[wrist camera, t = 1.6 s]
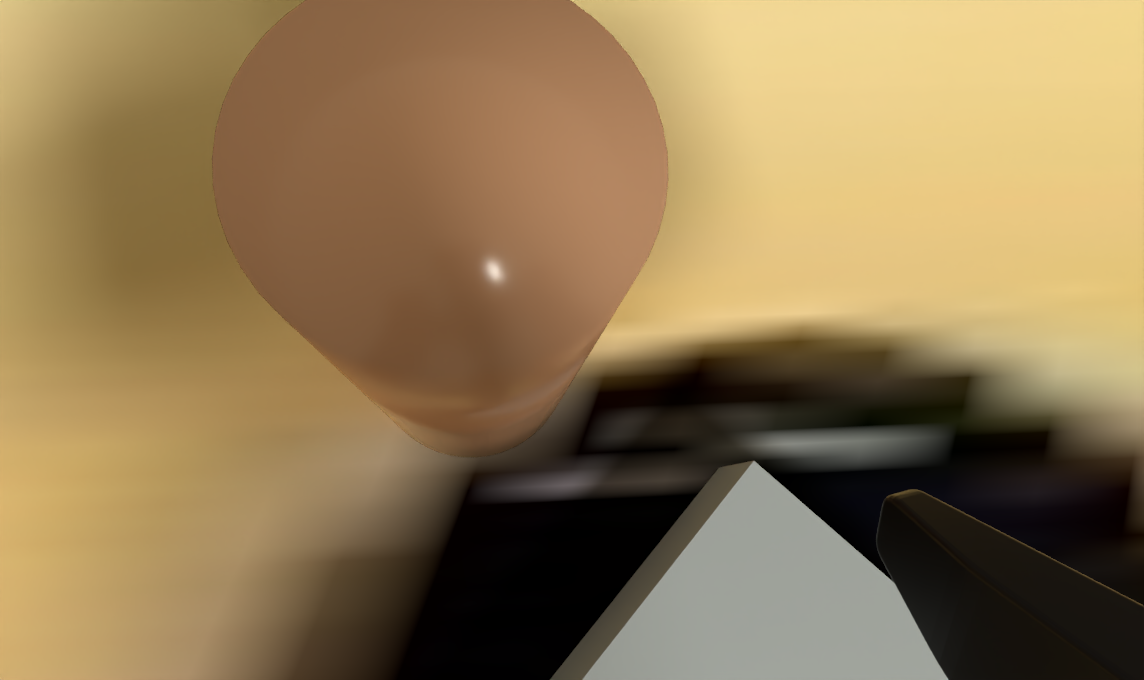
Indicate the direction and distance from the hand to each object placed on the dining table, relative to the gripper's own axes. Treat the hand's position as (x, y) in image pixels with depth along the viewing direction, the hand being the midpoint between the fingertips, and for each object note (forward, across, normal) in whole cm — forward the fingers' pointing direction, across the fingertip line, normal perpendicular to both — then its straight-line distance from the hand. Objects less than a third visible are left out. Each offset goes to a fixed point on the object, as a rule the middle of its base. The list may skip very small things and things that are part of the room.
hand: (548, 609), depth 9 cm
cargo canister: (+13, 0, +5) cm, 13 cm away
